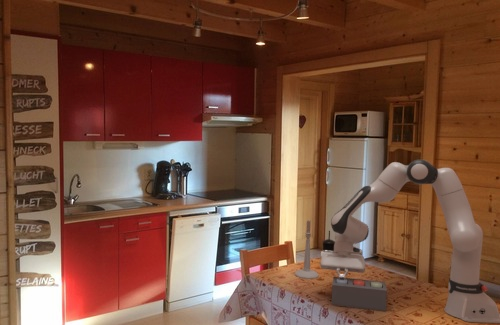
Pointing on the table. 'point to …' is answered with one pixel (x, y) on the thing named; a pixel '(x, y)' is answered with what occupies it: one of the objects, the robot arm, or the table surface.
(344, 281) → the blue button
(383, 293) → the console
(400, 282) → the table surface
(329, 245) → the drinking cup
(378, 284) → the green button
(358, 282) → the red button
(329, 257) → the robot arm
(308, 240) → the candlestick
